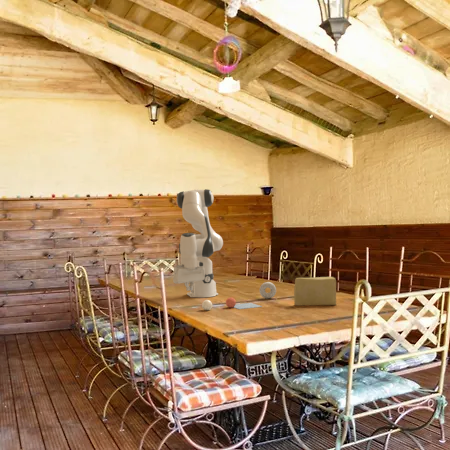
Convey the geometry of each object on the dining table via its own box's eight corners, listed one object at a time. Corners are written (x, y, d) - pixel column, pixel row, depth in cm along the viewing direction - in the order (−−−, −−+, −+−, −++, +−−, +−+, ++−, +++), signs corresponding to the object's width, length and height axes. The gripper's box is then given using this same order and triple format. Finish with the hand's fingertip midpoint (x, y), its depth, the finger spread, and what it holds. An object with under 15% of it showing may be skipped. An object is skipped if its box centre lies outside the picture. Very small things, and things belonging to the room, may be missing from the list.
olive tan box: (296, 306, 275) (295, 279, 275) (293, 304, 285) (292, 277, 285) (337, 305, 276) (336, 277, 275) (332, 302, 285) (331, 275, 285)
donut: (259, 299, 304) (259, 282, 304) (259, 298, 307) (259, 281, 307) (276, 298, 304) (276, 282, 304) (276, 297, 307) (275, 281, 307)
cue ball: (200, 309, 273) (200, 299, 273) (209, 308, 276) (209, 298, 276) (204, 311, 268) (204, 301, 268) (214, 310, 271) (213, 300, 271)
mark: (228, 305, 285) (228, 305, 285) (250, 303, 291) (250, 302, 291) (239, 309, 272) (239, 308, 272) (262, 306, 278) (262, 306, 278)
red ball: (224, 307, 279) (224, 297, 279) (233, 306, 281) (233, 296, 281) (228, 308, 274) (228, 298, 274) (237, 307, 276) (237, 297, 276)
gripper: (178, 265, 258) (179, 293, 258) (206, 262, 273) (207, 288, 273) (169, 265, 262) (170, 292, 262) (198, 262, 277) (198, 288, 277)
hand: (189, 290), depth 268 cm, fingers closed
